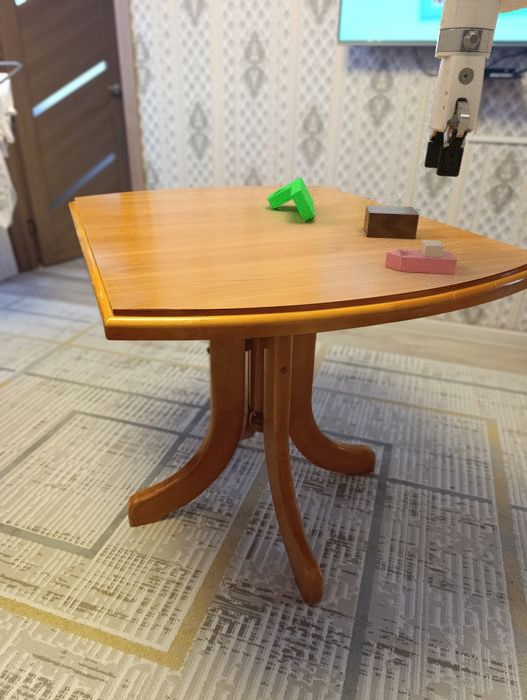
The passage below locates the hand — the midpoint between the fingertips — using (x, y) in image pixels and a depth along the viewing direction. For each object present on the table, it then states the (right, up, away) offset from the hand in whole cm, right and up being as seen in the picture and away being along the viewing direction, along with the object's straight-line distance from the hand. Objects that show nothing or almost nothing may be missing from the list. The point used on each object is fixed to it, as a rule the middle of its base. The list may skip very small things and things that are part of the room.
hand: (440, 171), depth 81 cm
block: (-1, -3, +28) cm, 29 cm away
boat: (-1, -14, +7) cm, 16 cm away
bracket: (-22, +5, +43) cm, 49 cm away
